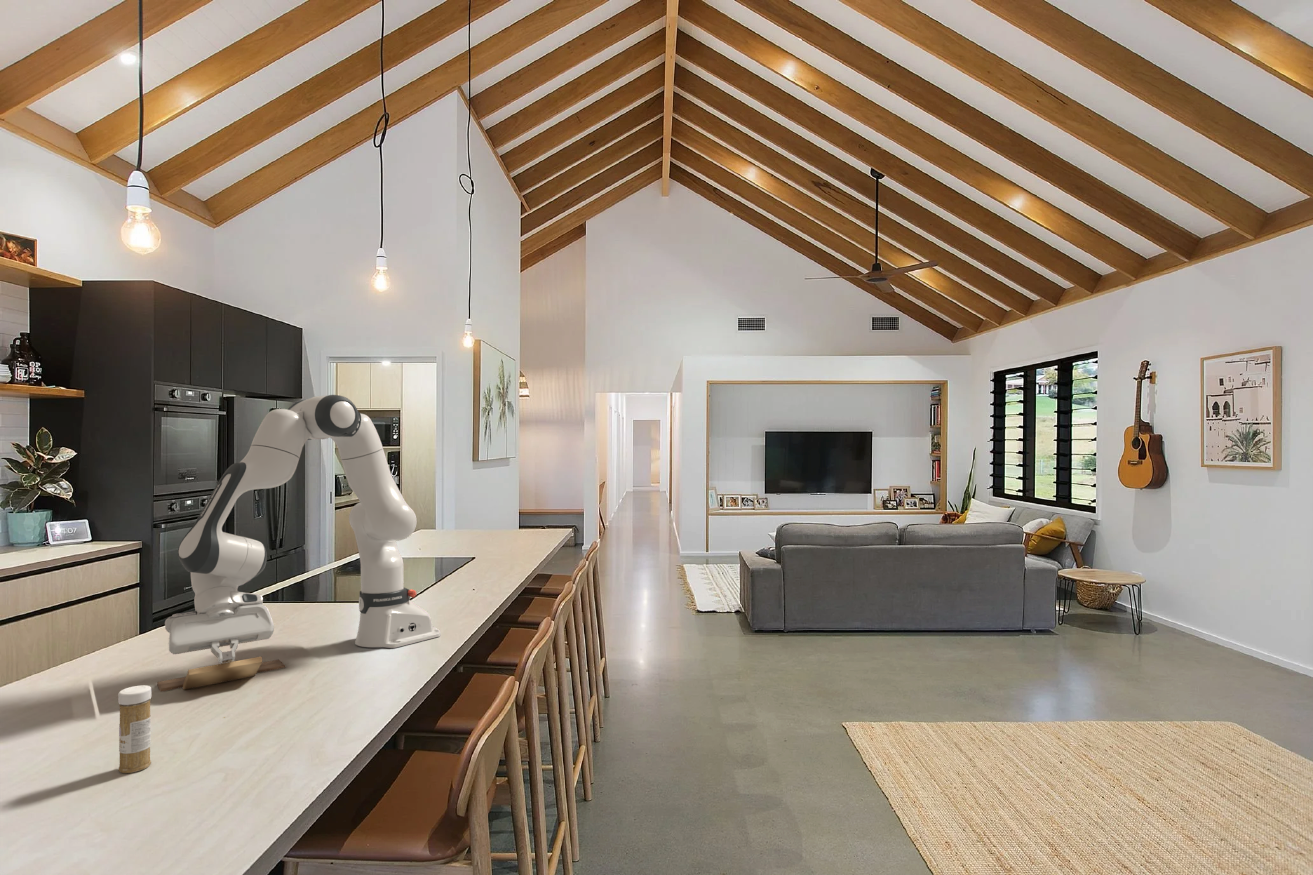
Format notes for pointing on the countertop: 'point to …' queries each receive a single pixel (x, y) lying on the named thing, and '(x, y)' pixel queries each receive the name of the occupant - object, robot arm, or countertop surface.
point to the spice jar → (134, 728)
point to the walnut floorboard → (180, 681)
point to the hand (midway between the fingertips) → (227, 660)
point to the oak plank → (222, 672)
